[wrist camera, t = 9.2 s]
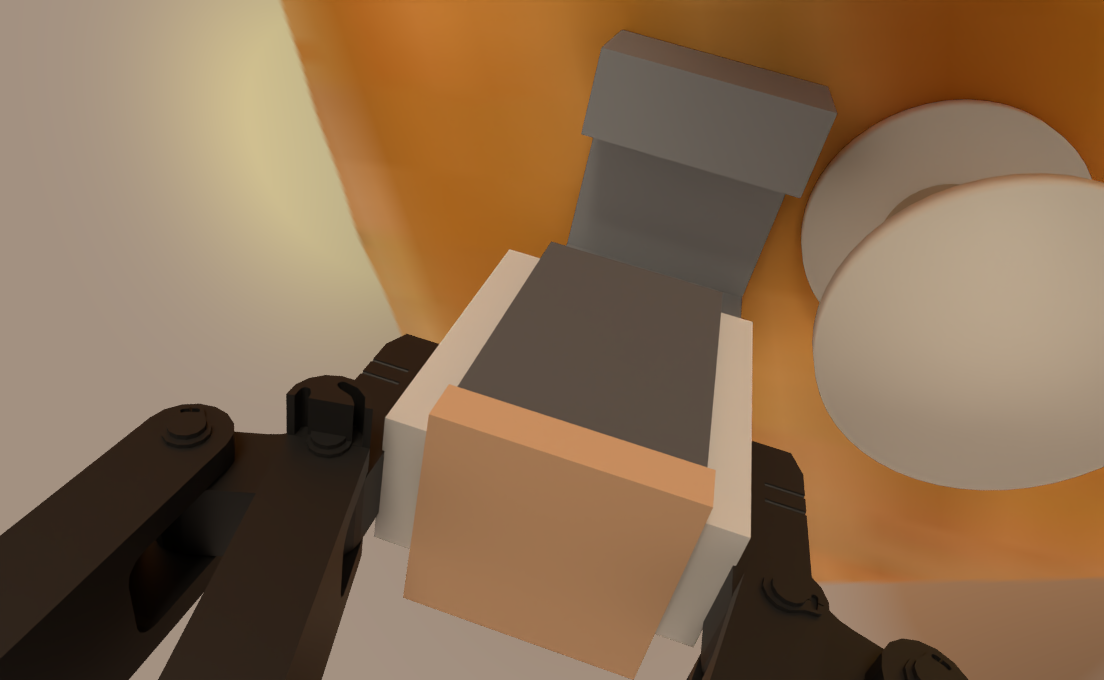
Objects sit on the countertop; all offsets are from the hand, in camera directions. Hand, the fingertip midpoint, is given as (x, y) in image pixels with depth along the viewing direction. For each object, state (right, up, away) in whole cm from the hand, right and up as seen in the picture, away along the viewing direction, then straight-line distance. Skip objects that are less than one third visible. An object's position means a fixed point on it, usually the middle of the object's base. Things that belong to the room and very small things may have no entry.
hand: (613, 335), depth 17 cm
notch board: (+4, +6, +14) cm, 15 cm away
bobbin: (+14, +4, +11) cm, 18 cm away
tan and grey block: (0, 0, 0) cm, 0 cm away
